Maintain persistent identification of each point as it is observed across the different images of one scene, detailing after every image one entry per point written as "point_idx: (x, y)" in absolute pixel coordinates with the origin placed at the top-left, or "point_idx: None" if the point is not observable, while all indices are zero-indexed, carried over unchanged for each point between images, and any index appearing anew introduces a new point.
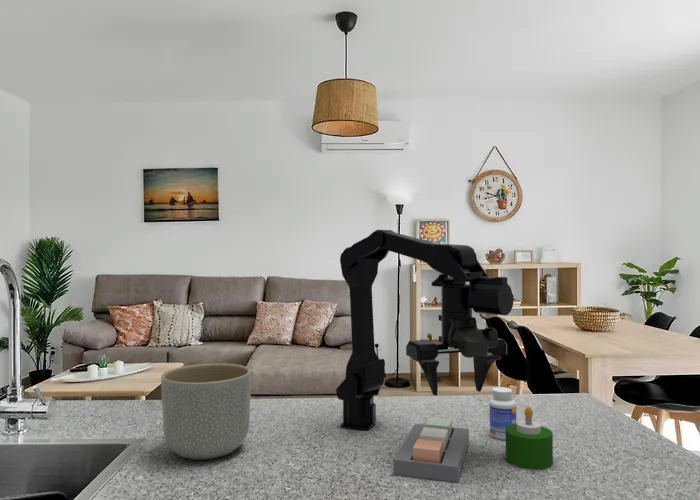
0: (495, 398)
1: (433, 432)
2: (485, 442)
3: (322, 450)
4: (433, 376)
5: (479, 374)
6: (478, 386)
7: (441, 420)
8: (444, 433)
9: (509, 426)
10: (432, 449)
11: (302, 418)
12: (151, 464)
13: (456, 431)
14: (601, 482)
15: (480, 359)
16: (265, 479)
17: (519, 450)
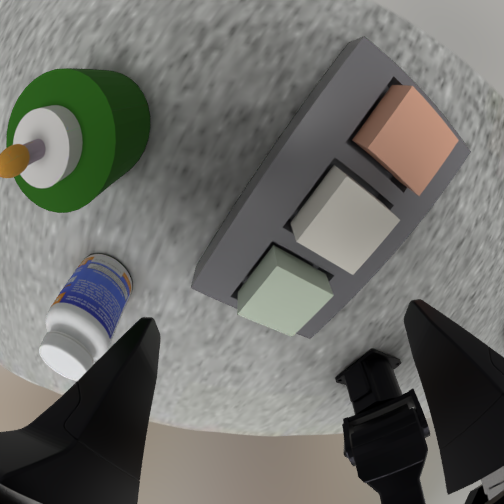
0: (88, 347)
1: (352, 230)
2: (156, 254)
3: (473, 283)
4: (494, 359)
5: (122, 402)
6: (147, 340)
7: (272, 312)
8: (325, 212)
9: (90, 193)
10: (424, 103)
11: (414, 385)
12: None
13: (233, 278)
14: (33, 17)
15: (94, 492)
16: None
17: (119, 85)
